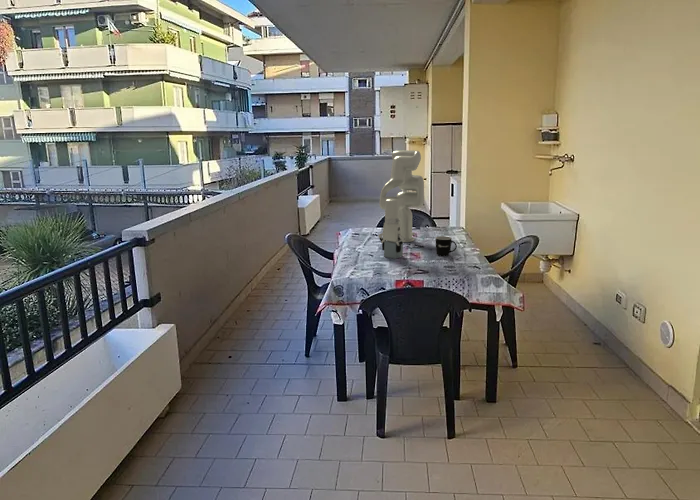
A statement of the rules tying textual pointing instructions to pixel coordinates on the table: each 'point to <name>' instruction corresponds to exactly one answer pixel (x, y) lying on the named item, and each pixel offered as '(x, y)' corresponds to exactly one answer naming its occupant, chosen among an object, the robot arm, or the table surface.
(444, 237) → the mug
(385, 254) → the grey rounded box
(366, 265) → the table surface
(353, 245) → the table surface
